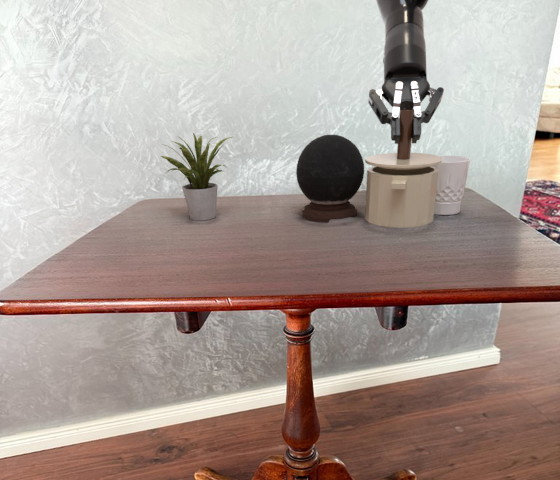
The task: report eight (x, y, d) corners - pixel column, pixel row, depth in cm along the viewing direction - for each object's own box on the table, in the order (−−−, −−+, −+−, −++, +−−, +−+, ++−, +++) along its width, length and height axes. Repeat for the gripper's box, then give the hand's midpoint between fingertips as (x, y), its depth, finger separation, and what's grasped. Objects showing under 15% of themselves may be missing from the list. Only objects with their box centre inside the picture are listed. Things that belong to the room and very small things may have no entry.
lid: (442, 159, 103) (448, 105, 98) (440, 172, 91) (447, 112, 87) (370, 158, 106) (372, 106, 101) (360, 171, 95) (362, 113, 90)
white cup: (448, 218, 104) (455, 163, 99) (414, 211, 110) (419, 159, 105) (470, 210, 109) (478, 157, 104) (436, 204, 114) (442, 154, 109)
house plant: (222, 204, 121) (215, 124, 113) (253, 216, 111) (248, 129, 102) (162, 215, 114) (150, 130, 106) (190, 228, 104) (179, 136, 96)
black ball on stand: (284, 215, 111) (281, 135, 103) (332, 204, 118) (333, 129, 110) (326, 227, 102) (327, 141, 94) (376, 215, 108) (380, 133, 101)
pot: (433, 211, 110) (439, 161, 105) (431, 236, 95) (437, 179, 90) (371, 209, 113) (373, 160, 108) (359, 233, 98) (361, 178, 93)
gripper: (367, 43, 96) (367, 126, 92) (448, 40, 95) (451, 124, 90) (364, 76, 103) (364, 155, 99) (439, 74, 102) (442, 153, 98)
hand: (406, 140), depth 95 cm, fingers closed on lid, 2 cm apart
